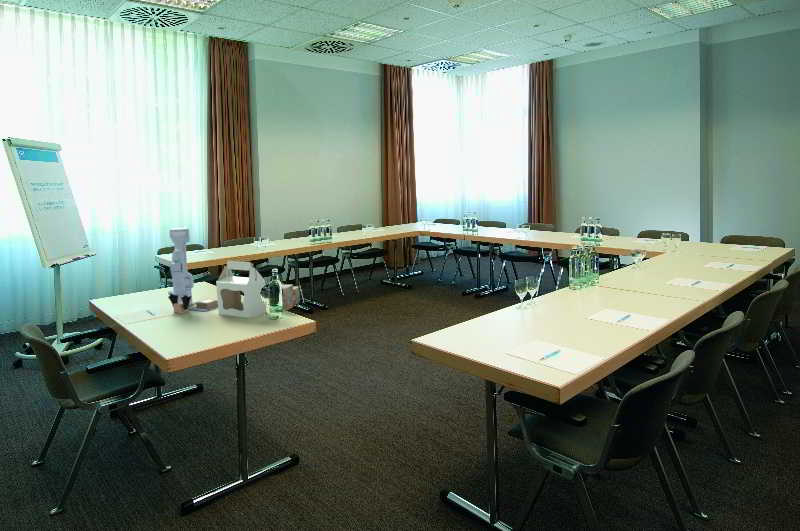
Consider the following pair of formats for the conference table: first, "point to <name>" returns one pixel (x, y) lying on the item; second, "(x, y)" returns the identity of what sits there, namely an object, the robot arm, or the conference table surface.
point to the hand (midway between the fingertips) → (180, 308)
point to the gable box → (231, 291)
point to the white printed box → (290, 296)
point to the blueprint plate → (205, 305)
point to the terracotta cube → (179, 308)
